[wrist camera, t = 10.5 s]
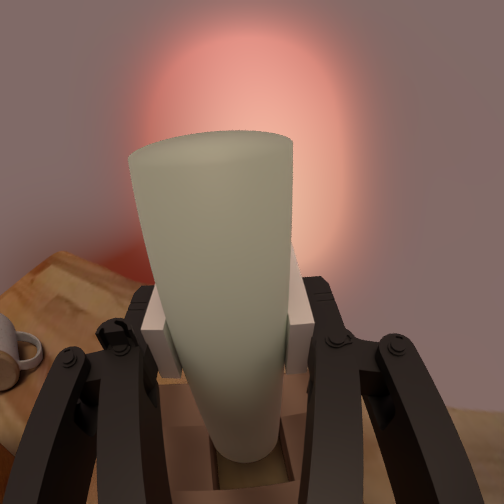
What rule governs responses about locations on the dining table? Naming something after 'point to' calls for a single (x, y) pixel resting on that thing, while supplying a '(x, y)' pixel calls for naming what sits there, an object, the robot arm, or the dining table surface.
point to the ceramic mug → (14, 353)
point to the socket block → (204, 452)
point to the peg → (223, 273)
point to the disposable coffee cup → (4, 469)
